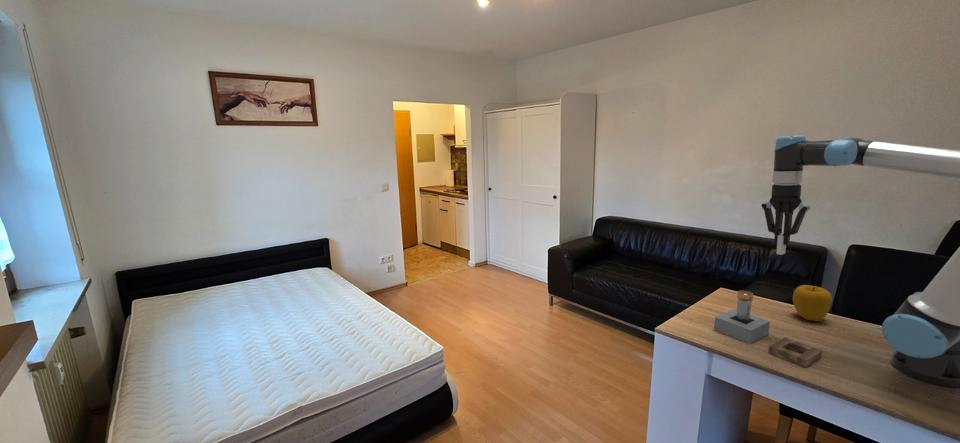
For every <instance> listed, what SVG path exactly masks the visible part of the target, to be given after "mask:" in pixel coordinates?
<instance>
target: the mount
mask: <svg viewBox="0 0 960 443" xmlns="http://www.w3.org/2000/svg"><path fill="white" fill-rule="evenodd" d="M767 351H768V354H770V355H772V356H775V357H777V358H780V359H782V360H785V361H788V362H790V363H793V364H795V365H798V366H800V367H803V368H805V369H806V368H808V367H809V366H811V365H813V364H814V363H816V362H817V361H819V360H821V358H822V356H823V350H822V349H818V348H816V347H814V346H810V345H809V344H808V345H807V344H804V343H802V342H799V341H797V340H794V339H791V338H788V337H783V338H781V339H779V340H777V341H776V342H774V343H772V344H770V345H768V350H767Z"/></svg>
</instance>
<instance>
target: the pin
mask: <svg viewBox="0 0 960 443" xmlns="http://www.w3.org/2000/svg"><path fill="white" fill-rule="evenodd" d="M736 298H737V306H736V310H737V313H736V321H739V322H741V323H744V324H748V323H749V321H750V315H751V313H752V312H751V310H752V303H753V302H752V301H753V300H754V293H753V292H751V291H748V290H738V291H737V294H736Z"/></svg>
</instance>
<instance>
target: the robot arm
mask: <svg viewBox="0 0 960 443" xmlns="http://www.w3.org/2000/svg"><path fill="white" fill-rule="evenodd" d="M774 146H775V147H774V159H773V161H774V162H773V170H772V171H773V172H772V185H771V195H770V196H771V198H769V200H768V201H767V202H765V203H761V208H762V210H763V211H764V216H765V221H766V225H767V231H768V232H769V233H773V235H774V240H773V242H774V244H775V245H776V255H780V256H782V255H785V254H786V248H787V246H788V245H789V244H790V240H791V236H792V235H793V236H794V235H797V234H798V233H799V231H800V228H801V225H802V223H803V220H804V217H805V216H806V214H807V213H808V211H809V210H810V209H811V206H809V205H806V204H804V203H802V202H803V201H802V199H801V194H802V185H801V183H802V182H803V173H804V172H803V171H804V166H807V167H808V166H813V167H814V166H816V167H817V166H822V167H823V166H825V167H827V166H828V167H843V166H844V167H845V166H850V165H855V166H864V167H869V168H877V169H883V170H887V171H888V170H889V171H894V172H895V171H896V172H903V173H908V174H915V175H921V176H926V177H934V178H942V179H946V180H947V179H948V180H951V181H952V180H953V181H959V182H960V150H959V149H950V148H941V147H932V146H923V145H922V146H921V145H914V144H913V145H912V144H904V143H895V142H887V141H886V142H884V141H875V140H874V141H873V140H866V139H864V138H860V137H859V138H858V137H850V138H845V139H844V138H843V139H841V138H840V139H830V140H827V139H825V140H814V141H813V140H812V141H811V140H807V137H806V135H804V134H801V135H800V134H799V135H783V136H779V137H777V138H776V141H775V145H774ZM772 207H773V209H774V210H775V212H774V213H773V209H772ZM796 209H798V212H797V215H796V217H795V220H794V222H793V215H794V211H795V210H796ZM773 214H775V217H774V215H773ZM774 218H775V219H774ZM783 220H784V221H783ZM783 223H784V224H783ZM792 223H793V224H792ZM881 334H882V336H883V337H884V339H885V341H886V342H887V343H888V345H890V346H891V348H893V349H895V350H894V351H893V352H892V354H891V358H890V364H891V365H892V366H893V367H894V368H895V369H897V370H898V371H900V372H901V373H903V374H905V375H907V376H909V377H912V378H914V379H917V380H919V381H923V382H925V383H929V384H932V385H937V386H941V387H942V386H943V387H949V388H960V246H958V248H957V249H956V250H955V251H954V252H953V254H952V256H950V258H949V259H948V261H946V263H945V264H944V265H943V266H942V268H940V270H939V271H938V272H937V273H936V275H935V276H934V277H933V279H932V280H931V281H930V282H929V283H928V284H927V286H926V287H925V288H924V290H923V291H917V292H916V291H915V292H914V293H913V294H910V295H909V296H908V297H907V298H905V300H904V301H903V303H901V305H900V306H899V308H897V310H896V311H895V312H894V313H893V314H892V315H889V316H888V317H886V318H885V319H884V321H883V323H882V324H881Z"/></svg>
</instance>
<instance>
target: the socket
mask: <svg viewBox="0 0 960 443" xmlns="http://www.w3.org/2000/svg"><path fill="white" fill-rule="evenodd" d="M736 313H737V309H736V308H735V309H731V310H729V311H727V312H724V313H721V314H720V315H717V316H715V317H714V324H713V325H714V327H713V330H714V331H716V332H719V333H721V334H723V335H727V336H728V337H731V338H734V339H736V340H739V341H741V342H744V343H746V344H749V345H751V344H752V343H755V342H757V341H759V340H761V339H762V338H764V337H766V336H768V335H769V334H770V333H769V332H770V326H771V325H770V324H771V321H770V320H768V319H764V318H761V317H758V316H755V315H752V314H750V321H749V323H748V324H744V323H741V322H739V321H736Z"/></svg>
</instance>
